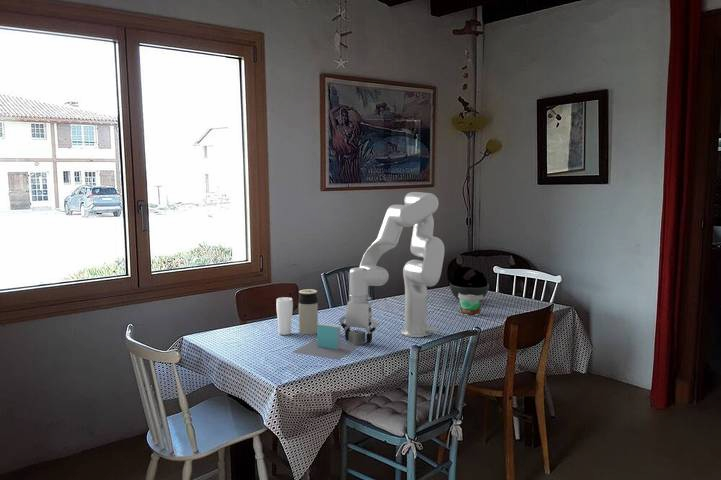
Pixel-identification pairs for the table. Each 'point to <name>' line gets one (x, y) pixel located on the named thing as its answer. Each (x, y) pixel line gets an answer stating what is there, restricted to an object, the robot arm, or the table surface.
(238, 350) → the table surface
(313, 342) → the mat
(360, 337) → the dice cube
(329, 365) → the table surface
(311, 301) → the travel mug
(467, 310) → the food container
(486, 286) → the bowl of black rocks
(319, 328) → the tile
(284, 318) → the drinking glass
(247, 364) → the table surface
